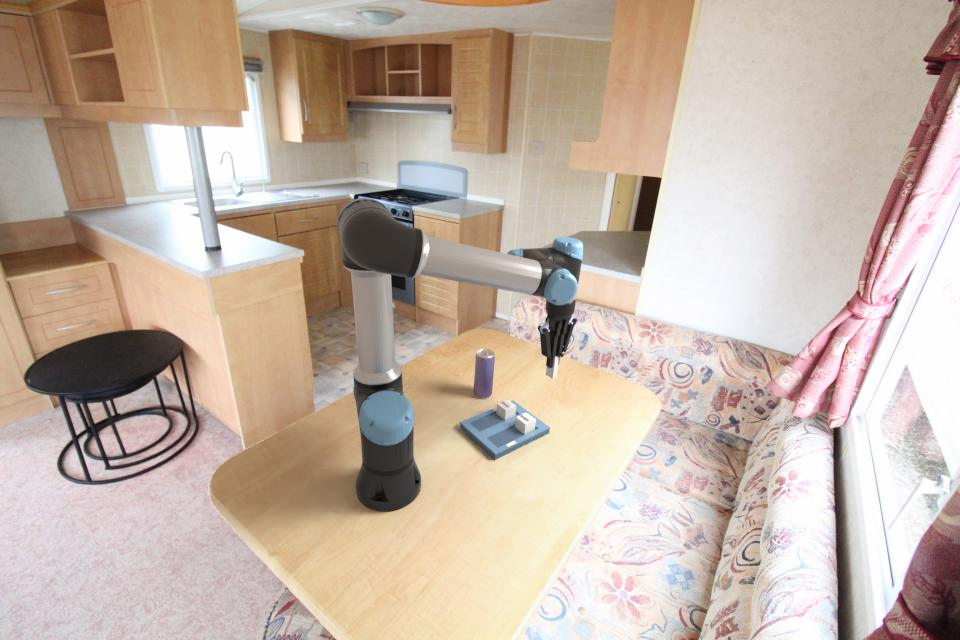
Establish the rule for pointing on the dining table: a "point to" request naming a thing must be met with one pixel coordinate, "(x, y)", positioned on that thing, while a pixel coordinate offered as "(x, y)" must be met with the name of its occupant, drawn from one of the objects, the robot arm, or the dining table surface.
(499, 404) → the tab far
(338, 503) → the dining table surface
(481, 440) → the switch bank
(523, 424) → the tab near
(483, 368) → the beverage can
